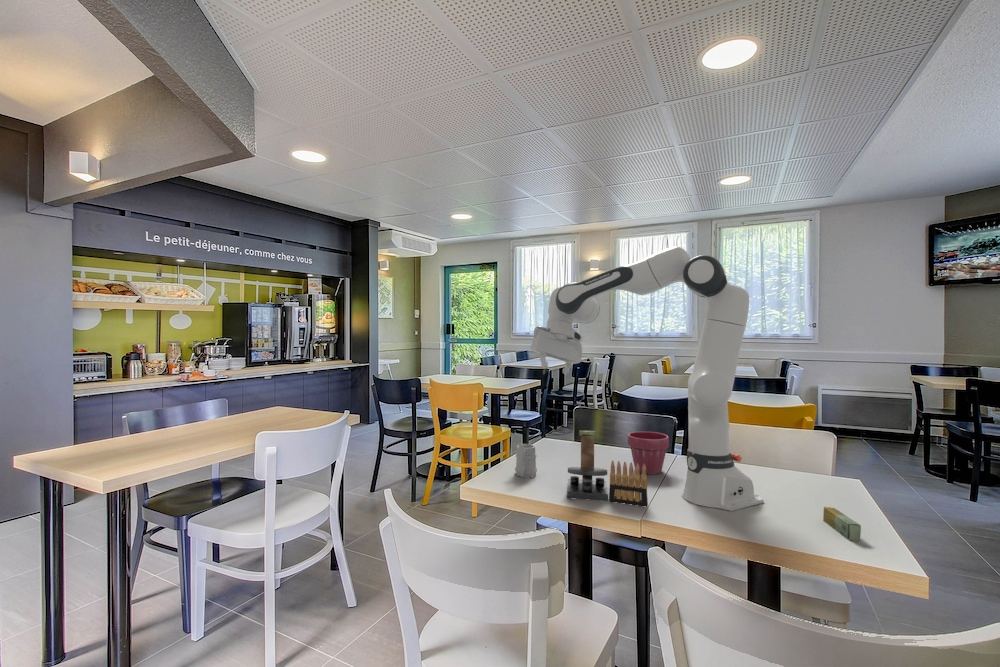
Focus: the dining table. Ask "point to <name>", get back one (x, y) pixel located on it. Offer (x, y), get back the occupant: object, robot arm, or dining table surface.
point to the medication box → (842, 524)
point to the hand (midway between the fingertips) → (555, 370)
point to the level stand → (587, 488)
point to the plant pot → (648, 450)
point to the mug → (526, 460)
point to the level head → (587, 457)
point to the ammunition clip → (628, 485)
